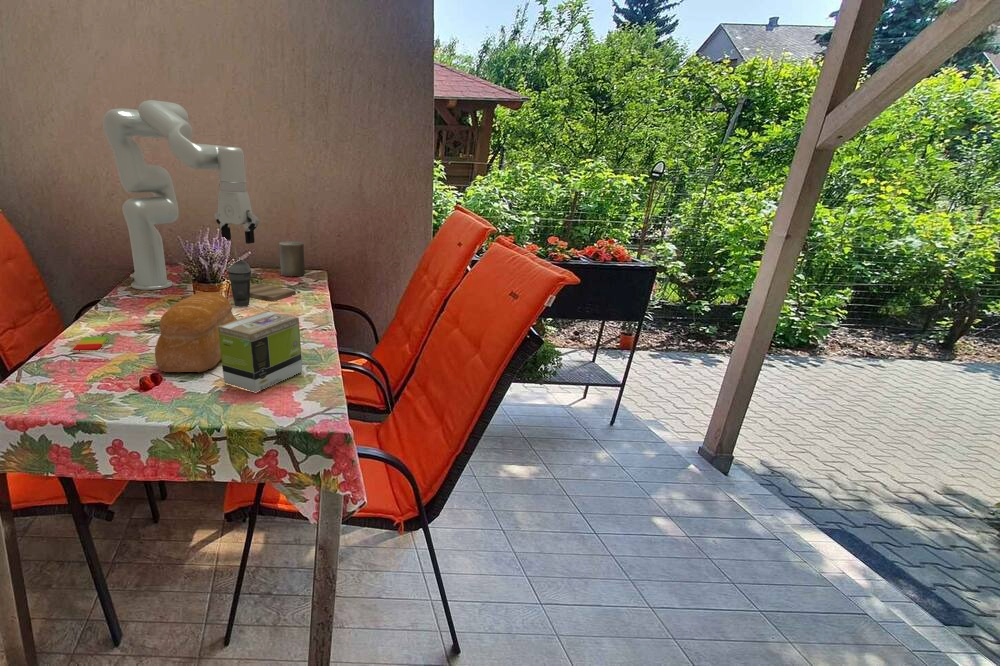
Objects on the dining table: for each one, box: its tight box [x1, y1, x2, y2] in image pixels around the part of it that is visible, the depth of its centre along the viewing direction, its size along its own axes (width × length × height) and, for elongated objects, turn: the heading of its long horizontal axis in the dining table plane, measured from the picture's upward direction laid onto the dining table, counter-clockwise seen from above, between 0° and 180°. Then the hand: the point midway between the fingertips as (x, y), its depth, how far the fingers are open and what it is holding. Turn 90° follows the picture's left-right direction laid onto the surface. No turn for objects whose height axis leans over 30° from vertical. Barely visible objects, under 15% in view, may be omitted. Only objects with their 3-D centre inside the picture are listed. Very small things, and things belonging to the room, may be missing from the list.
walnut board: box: [250, 283, 297, 302], centre depth 195 cm, size 18×12×2 cm, turn 71°
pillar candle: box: [278, 239, 306, 278], centre depth 225 cm, size 10×10×15 cm
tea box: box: [218, 310, 303, 392], centre depth 124 cm, size 15×10×15 cm, turn 157°
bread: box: [154, 292, 237, 373], centre depth 135 cm, size 14×26×15 cm, turn 9°
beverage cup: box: [227, 246, 252, 308], centre depth 177 cm, size 7×7×20 cm
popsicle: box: [72, 336, 109, 351], centre depth 139 cm, size 6×15×2 cm, turn 22°
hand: (238, 241), depth 174 cm, fingers open, 9 cm apart
